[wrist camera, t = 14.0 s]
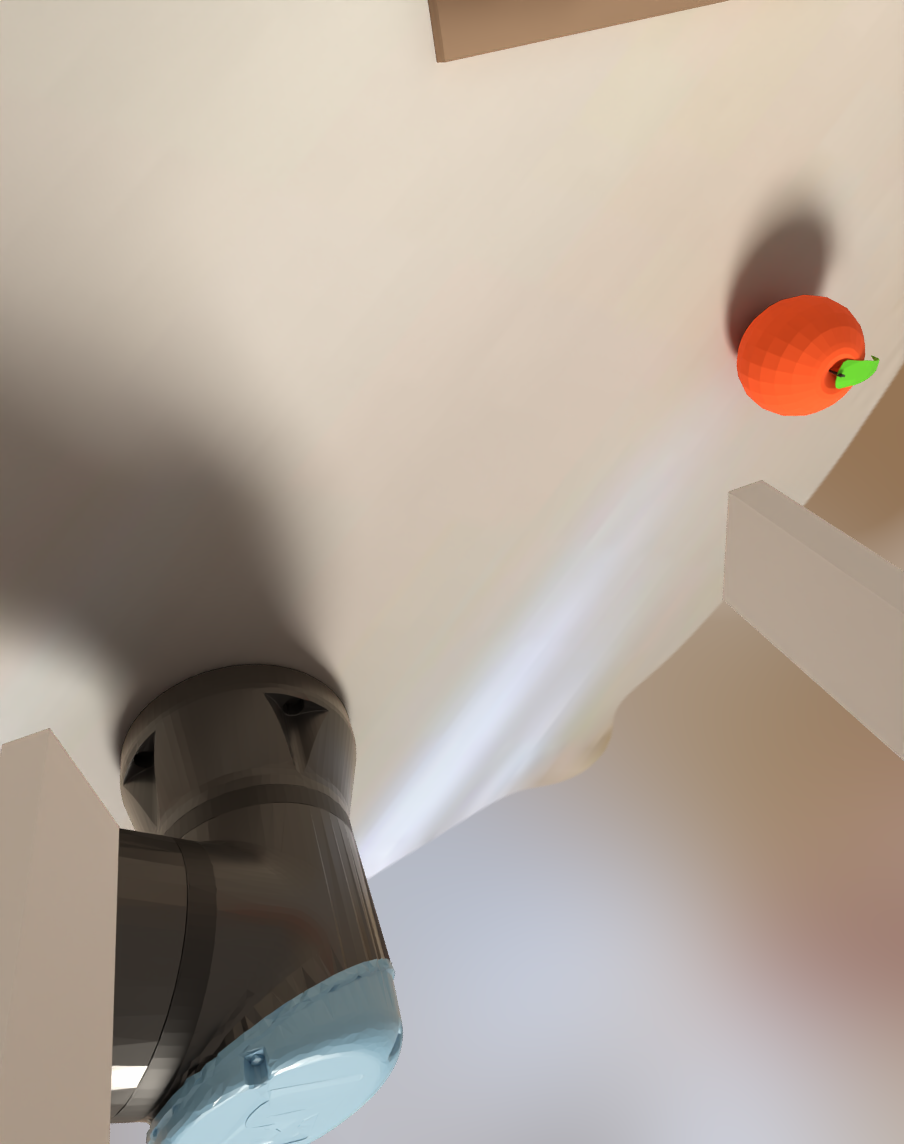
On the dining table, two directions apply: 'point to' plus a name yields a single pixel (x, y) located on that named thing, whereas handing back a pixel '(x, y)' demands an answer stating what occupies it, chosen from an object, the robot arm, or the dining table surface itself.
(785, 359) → the clementine
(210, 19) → the dining table surface
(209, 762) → the robot arm
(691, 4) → the wooden board with blocks
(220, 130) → the dining table surface
